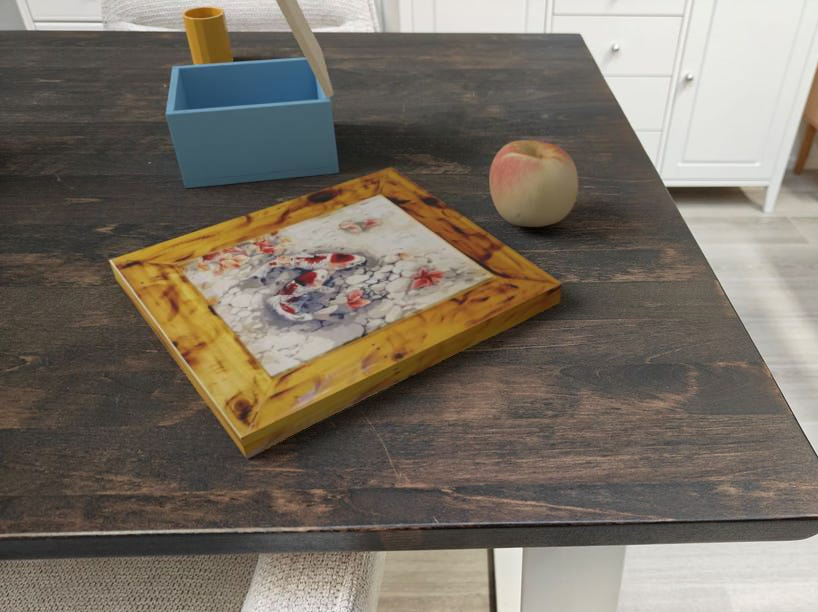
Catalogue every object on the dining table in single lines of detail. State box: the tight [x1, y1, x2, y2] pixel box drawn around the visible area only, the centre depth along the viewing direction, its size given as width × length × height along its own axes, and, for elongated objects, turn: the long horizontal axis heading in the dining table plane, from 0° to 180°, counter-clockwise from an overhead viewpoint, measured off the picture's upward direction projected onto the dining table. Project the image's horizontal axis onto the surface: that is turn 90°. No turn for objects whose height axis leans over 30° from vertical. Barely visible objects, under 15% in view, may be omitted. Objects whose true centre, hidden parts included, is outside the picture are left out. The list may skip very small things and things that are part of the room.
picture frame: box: [108, 166, 563, 460], centre depth 66 cm, size 27×2×30 cm
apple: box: [488, 139, 579, 228], centre depth 74 cm, size 9×9×8 cm
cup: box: [181, 6, 235, 65], centre depth 106 cm, size 6×6×7 cm
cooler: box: [165, 56, 340, 189], centre depth 84 cm, size 17×14×8 cm
